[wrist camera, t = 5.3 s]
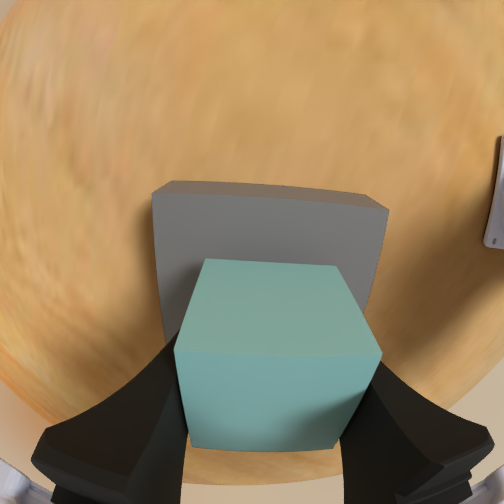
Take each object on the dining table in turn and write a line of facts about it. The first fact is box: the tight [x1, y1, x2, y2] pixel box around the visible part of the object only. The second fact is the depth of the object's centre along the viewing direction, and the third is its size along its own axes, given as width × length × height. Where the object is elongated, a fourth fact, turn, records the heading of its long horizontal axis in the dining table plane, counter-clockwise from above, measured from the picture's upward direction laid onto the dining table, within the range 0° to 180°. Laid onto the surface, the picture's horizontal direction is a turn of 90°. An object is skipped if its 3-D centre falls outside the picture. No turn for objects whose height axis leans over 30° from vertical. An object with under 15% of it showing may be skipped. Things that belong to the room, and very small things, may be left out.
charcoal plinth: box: [152, 181, 389, 345], centre depth 14 cm, size 10×10×3 cm
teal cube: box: [174, 258, 383, 452], centre depth 9 cm, size 5×5×5 cm
